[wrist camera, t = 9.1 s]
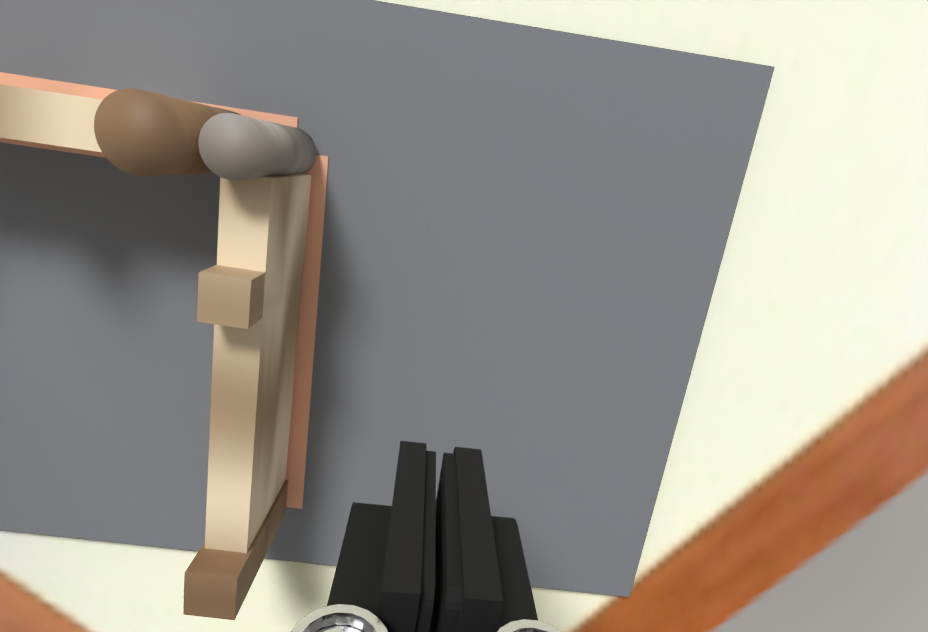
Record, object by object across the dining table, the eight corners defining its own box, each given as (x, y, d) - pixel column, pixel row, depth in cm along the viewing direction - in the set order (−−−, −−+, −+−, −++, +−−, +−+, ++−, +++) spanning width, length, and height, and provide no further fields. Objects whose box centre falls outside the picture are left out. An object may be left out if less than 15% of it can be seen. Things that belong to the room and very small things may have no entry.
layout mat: (-104, 511, 20) (-117, 519, 20) (-197, -91, 15) (-217, -99, 15) (626, 589, 22) (629, 598, 21) (767, 69, 17) (775, 66, 16)
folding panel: (271, 123, 16) (199, 107, 12) (318, 131, 16) (265, 118, 12) (246, 508, 20) (183, 614, 15) (285, 513, 20) (234, 620, 15)
